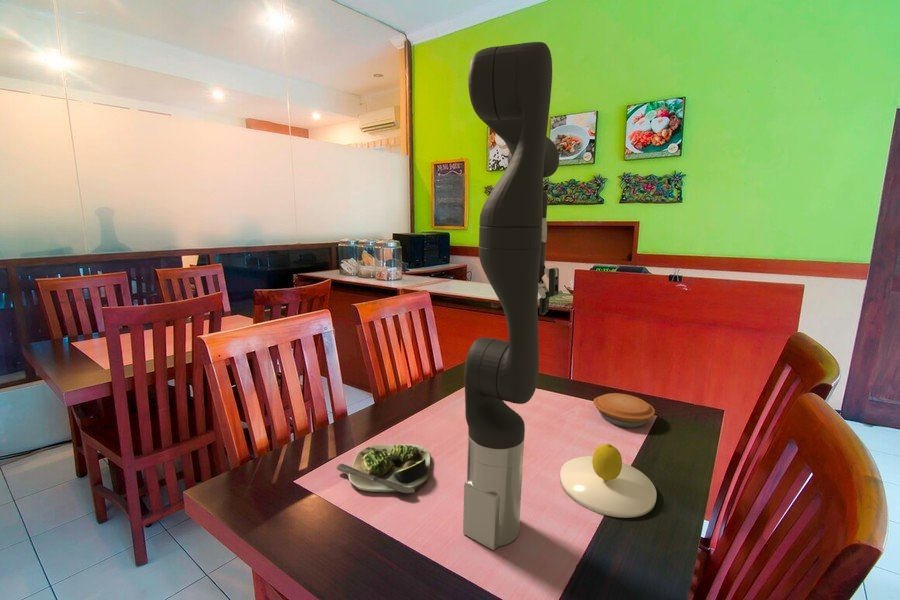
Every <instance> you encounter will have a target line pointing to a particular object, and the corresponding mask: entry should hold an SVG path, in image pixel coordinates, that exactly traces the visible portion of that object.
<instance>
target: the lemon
mask: <svg viewBox="0 0 900 600" xmlns="http://www.w3.org/2000/svg"><path fill="white" fill-rule="evenodd" d="M592 456H593V459H592V465H593V469H594V471H595V473H596V474H597V475H598V476H599V477H600V478H602V479H603V480H604V481H607V480H613V479H615V478H617V477H618V476H619V474H620V472H621V469H622V462H623V460H622V455H621V452H620V451H619V450H618V448H616V447H615V446H614V445H612V444H611V443H603V444H600V445H599V446H597V447H596V448H595V450H594V452H593V455H592Z"/></svg>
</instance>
